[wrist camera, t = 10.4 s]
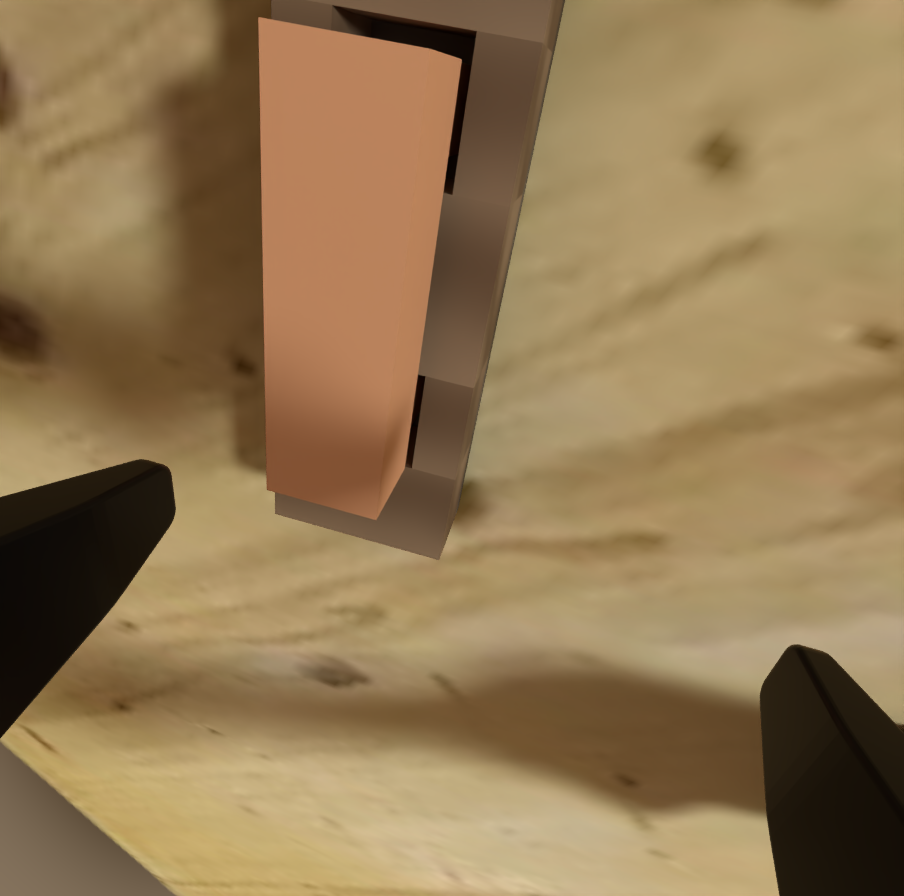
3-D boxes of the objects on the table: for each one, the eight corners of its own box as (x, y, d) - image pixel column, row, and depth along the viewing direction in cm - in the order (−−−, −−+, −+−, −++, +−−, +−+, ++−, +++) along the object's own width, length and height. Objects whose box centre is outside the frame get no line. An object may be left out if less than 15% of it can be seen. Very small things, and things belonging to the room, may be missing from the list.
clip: (434, 414, 20) (376, 520, 15) (351, 393, 20) (266, 489, 15) (490, 68, 14) (430, 48, 9) (377, 47, 15) (258, 17, 10)
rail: (457, 508, 22) (439, 559, 20) (311, 468, 23) (275, 513, 20) (592, -134, 13) (590, -193, 10) (333, -171, 13) (269, -237, 11)
